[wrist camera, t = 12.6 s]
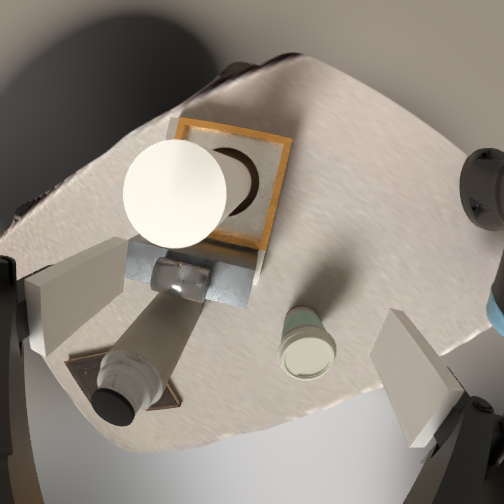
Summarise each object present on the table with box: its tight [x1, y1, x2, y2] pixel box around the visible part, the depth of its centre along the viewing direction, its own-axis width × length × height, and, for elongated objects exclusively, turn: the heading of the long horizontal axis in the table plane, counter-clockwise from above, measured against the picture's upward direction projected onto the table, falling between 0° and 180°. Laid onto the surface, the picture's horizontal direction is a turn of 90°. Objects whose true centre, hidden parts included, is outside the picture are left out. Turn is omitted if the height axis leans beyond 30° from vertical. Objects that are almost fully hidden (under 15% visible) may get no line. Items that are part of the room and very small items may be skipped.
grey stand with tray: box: [125, 117, 293, 308], centre depth 40 cm, size 18×22×18 cm
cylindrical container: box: [123, 139, 251, 248], centre depth 32 cm, size 7×7×25 cm
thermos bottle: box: [91, 292, 202, 426], centre depth 39 cm, size 8×8×28 cm
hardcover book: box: [64, 352, 181, 411], centre depth 58 cm, size 16×23×2 cm
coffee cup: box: [277, 306, 336, 381], centre depth 47 cm, size 9×8×12 cm
